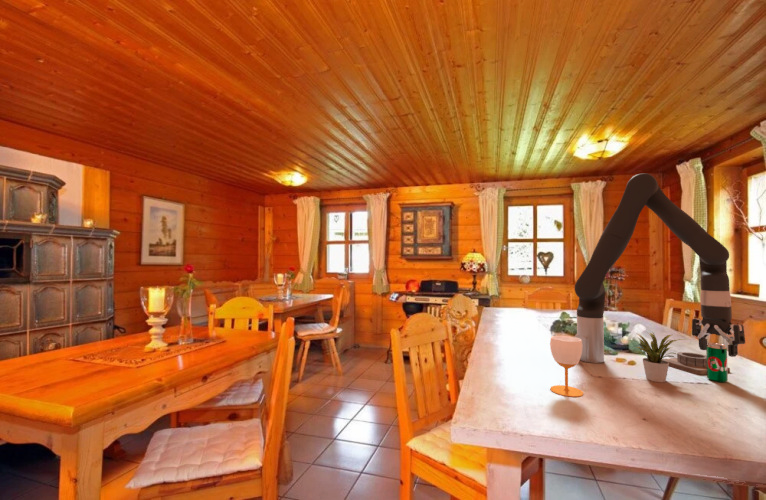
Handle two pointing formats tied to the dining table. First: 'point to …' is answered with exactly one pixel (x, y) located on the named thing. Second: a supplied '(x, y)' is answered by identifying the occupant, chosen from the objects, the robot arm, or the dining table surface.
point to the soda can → (717, 362)
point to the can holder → (690, 362)
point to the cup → (566, 361)
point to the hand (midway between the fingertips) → (717, 353)
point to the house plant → (656, 358)
